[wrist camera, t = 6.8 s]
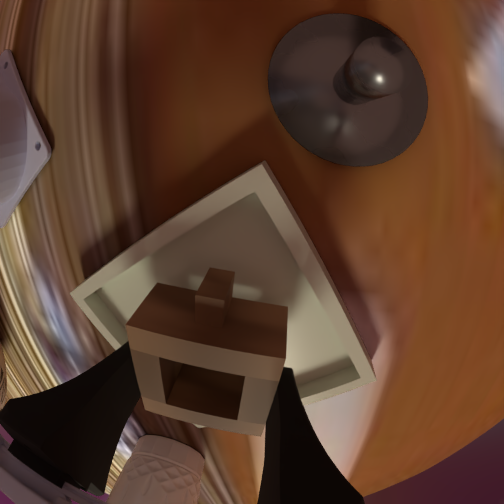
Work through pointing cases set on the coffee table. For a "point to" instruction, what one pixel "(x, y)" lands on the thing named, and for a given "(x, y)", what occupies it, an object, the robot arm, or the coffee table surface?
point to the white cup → (159, 474)
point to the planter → (2, 379)
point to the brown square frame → (208, 354)
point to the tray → (241, 278)
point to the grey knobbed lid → (348, 89)
